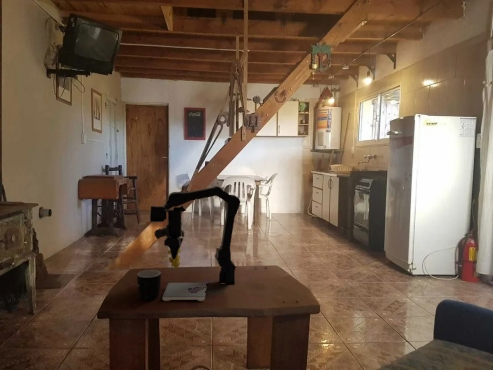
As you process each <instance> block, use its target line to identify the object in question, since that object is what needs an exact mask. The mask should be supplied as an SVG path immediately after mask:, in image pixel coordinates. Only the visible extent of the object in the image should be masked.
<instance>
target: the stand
mask: <svg viewBox="0 0 493 370" xmlns="http://www.w3.org/2000/svg"><path fill="white" fill-rule="evenodd" d="M206 284H207V282H168V283H167V286H166V289H165V290H164V292H163V295H162V300H163V302H170V301H173V300H174V301H175V300H177V301H181V300H182V301H183V300H184V301H185V300H187V301H188V300H189V301H191V300H192V301H193V300H195V301H196V300H197V301H198V302H204V300H205V298H206V293H205V291H206V292H207V286H206ZM205 286H206V288H204V289H202V290H200V291H198V292H197V293H191V292H189V290H188V288H192V289H193V288H195V287H205Z"/></svg>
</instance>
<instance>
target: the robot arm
mask: <svg viewBox="0 0 493 370" xmlns="http://www.w3.org/2000/svg"><path fill="white" fill-rule="evenodd" d="M211 197H218V198H219V199H220V200H222V201H224V211H225V217H224V223H223V224H224V225H223V231H222V237H221V242H220V246H219V248H217V247H216V248H215V250H216V251H215V255H214V257H215V260H216V263H218V265H219V267H220V271H219V273H218V275H219V277H218V278H219V279H218V280H219V281H218V282H219V283H226V284H225V285H236V280H235V275H236V274H235V271H236V268H237V267H236V265H235V264H234V262H233V260H232V253H231V245H232V244H231V243H232V237H233V231H234V226H235V225H234V224H235V219H236V215H237V213H238V211H239V209H240V206H241V199H240V198H239V197H238V196H237V195H235V194H229V193H228V192H226V191H225V190H224V189H222V187H220V186H218V185H215V186H212V187H208V188H207V187H206V188H202V189H197V190H191V191H173V192H171V193H169V195H168V196H167V200H166V201H165V203H164V205H162V206H156V205H151V206H150V213H149V214H150V215H149V217H150V218H149V219H150V223H164V221H166V220H167V224H166V226H165V227H162V228H158V229H156V230H155V231H154V237H155V238H156V240H159V239H160V238H163V237H166V238H165V239H164V240H163V241H164V243H163V245H164V246H165V247H168V248H169V250H170V251H171V254H172V258H173V259H175V258H176V255H177V253H178V250H179V249H180V250H181V246H182V243H183V242H184V237H185V231H184V230H183V229H182V226H183V220H182V218H183V217H182V216H183V215H182V213H183V212H187V209H186V208H185V207H184V206H183V205H185V204H186V203H189V202H192V201H196V200H202V199H207V198H211ZM172 208H173V209H172ZM171 254H170V255H171ZM178 254H179V253H178Z"/></svg>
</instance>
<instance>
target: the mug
mask: <svg viewBox="0 0 493 370" xmlns="http://www.w3.org/2000/svg"><path fill="white" fill-rule="evenodd" d="M136 280H137V293H138V296H139V299H140V300H141V301H144V302H150V301H151V302H152V301H155V300H157V299H158V298H159V296H160V292H161V283H162V282H161V281H162V272H161V271H160V270H156V269H145V270H141V271H139V272H138V273H137V275H136Z"/></svg>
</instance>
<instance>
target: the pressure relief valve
mask: <svg viewBox="0 0 493 370" xmlns="http://www.w3.org/2000/svg"><path fill="white" fill-rule="evenodd" d="M180 253H181V248H180V249H179V250H178V253H177V255H176V258H175V259H173V258H172V254H171V251H170V249H168V250H167V255H170V257H168V261H166V262H160V263H158V262H157V265H161V264H169V263H171V267H172V268H173V269H177V268H178V269H179V266H180V265H181V261H180V259H181V257H180V255H179V254H180Z"/></svg>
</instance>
